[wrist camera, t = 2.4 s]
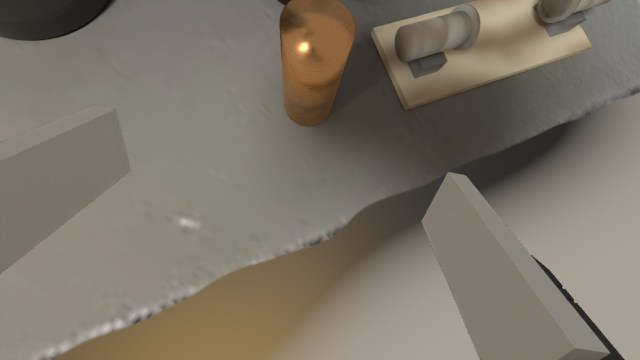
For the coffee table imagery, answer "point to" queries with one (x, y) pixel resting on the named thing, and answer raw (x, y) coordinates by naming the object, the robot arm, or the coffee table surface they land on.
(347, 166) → the coffee table surface
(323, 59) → the disc
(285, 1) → the coffee mug
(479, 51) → the shaft bench
